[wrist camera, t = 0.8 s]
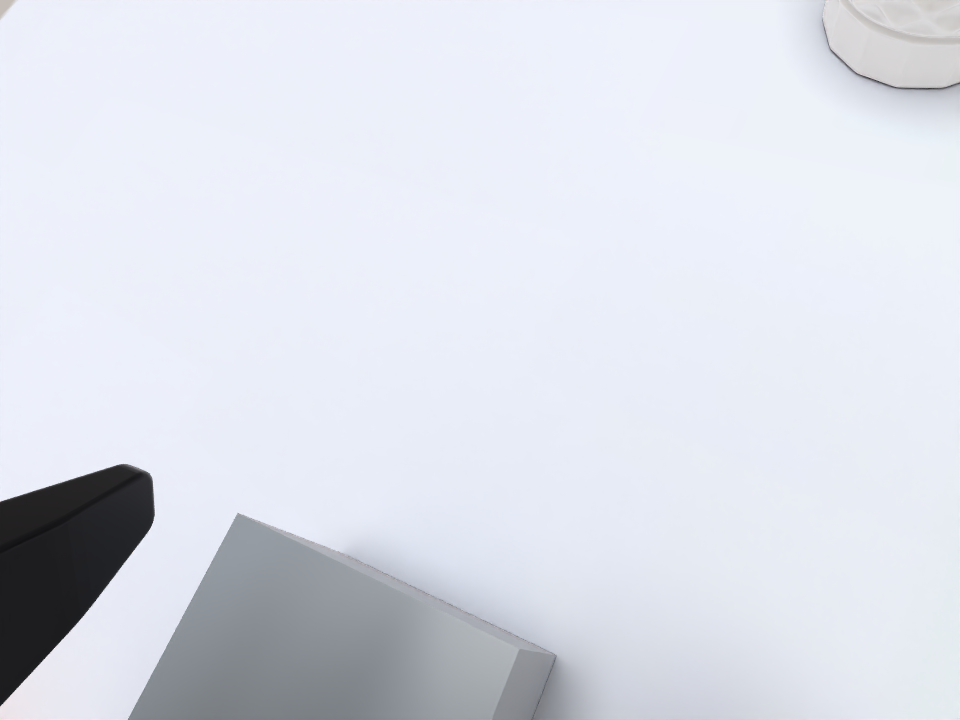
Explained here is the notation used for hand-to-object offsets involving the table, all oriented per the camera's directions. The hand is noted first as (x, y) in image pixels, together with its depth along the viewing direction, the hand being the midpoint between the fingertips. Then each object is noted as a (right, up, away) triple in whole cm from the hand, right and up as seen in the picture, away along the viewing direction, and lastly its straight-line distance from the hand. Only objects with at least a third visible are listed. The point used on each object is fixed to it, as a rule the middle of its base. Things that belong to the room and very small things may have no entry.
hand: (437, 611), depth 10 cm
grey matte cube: (-2, -8, +12) cm, 15 cm away
